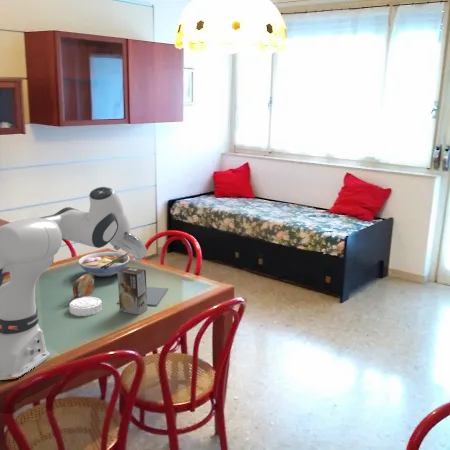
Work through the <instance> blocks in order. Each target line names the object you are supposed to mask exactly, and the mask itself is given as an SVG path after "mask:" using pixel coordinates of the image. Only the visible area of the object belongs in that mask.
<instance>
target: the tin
mask: <svg viewBox="0 0 450 450" xmlns="http://www.w3.org/2000/svg"><path fill="white" fill-rule="evenodd" d="M95 286H96V279H95V275H93V274H91V273H90V274H89V273H84V274H82V275H81V276H79V278H77V279H76V280H75V281H74V283H73V284H72V293H73V298H74V300H75V299H77V298H82V297H90V295H91V294H92V293H93V292H94V290H95Z"/></svg>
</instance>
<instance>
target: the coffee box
mask: <svg viewBox="0 0 450 450" xmlns="http://www.w3.org/2000/svg"><path fill="white" fill-rule="evenodd" d="M117 286H118V289H117V290H118V301H119V304H118V305H119V312H121V313H122V312H124V313H129V314H133V315H138V316H139V315H141V314H143V313H144V312H146V311H147V310H148V306H147V289H146V287H147V271H146V269H143V268H137V267H130V266H125V267H124V268H123V269H121V270H120V271H118V273H117Z"/></svg>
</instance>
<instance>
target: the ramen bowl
mask: <svg viewBox="0 0 450 450" xmlns="http://www.w3.org/2000/svg"><path fill="white" fill-rule="evenodd" d="M129 255H130V254H129V253H127V252H126V253H122V252H117V251H103V252H93V253H90V254H86V255H84V256H81V258H79V259H78V265H80V267H81V268H82V269H83V270H84V271H85V272H86V273H87V274H90V273H91V274H93V276H97V277H100V278H107V277H112V276H114V275H116V274H118V271H120V270H121V269H123V268H125V267H127V265H128V264H129V261H130V260H131V259H130V256H129Z"/></svg>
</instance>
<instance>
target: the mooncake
mask: <svg viewBox="0 0 450 450" xmlns="http://www.w3.org/2000/svg"><path fill="white" fill-rule="evenodd" d="M102 303H103V301H102V300H101V299H100V298H98V297H95V296H88V297H82V298H77V299H75V298H74V299H73V300H72V301H70V302H69V305H68V306H69V313H71V315H74V316H78V317H81V316H82V317H86V316H91V315H95V314H98V313H99V312H101V311H102V309H103V304H102Z"/></svg>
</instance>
